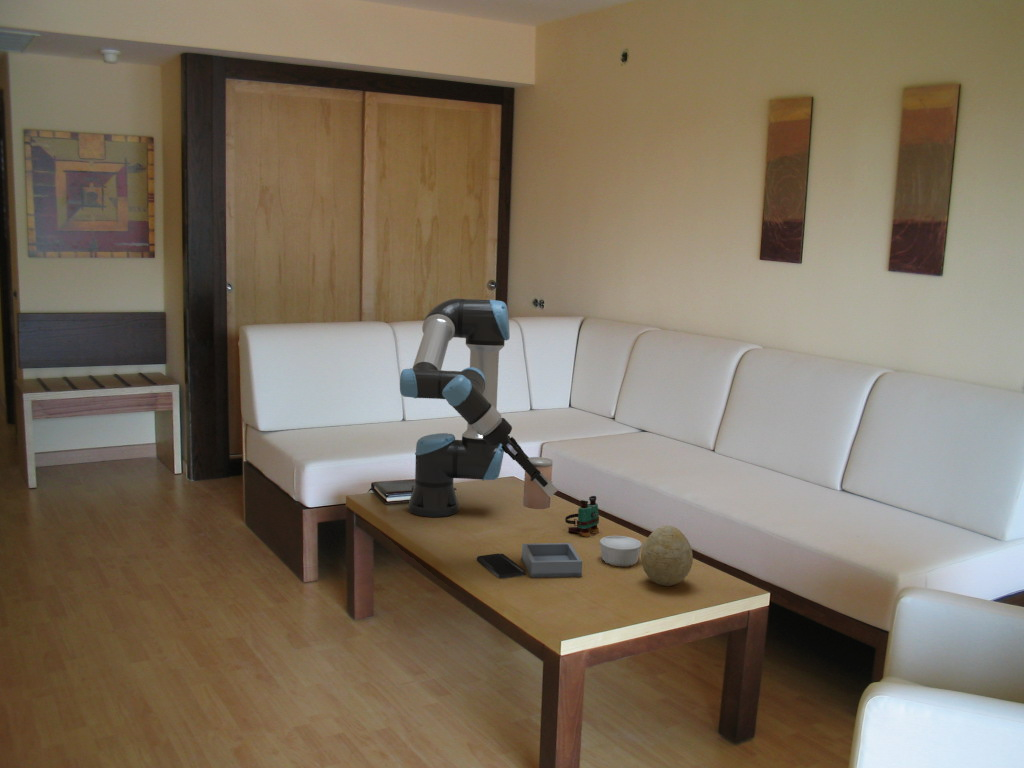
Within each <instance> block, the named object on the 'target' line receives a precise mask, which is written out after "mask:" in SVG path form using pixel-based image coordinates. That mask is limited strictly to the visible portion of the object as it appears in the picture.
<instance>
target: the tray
mask: <svg viewBox="0 0 1024 768" xmlns="http://www.w3.org/2000/svg"><path fill="white" fill-rule="evenodd" d="M521 545H522V546H521V559H522V562H523V564H524V565H525V568H526V570H527V572H528V574H529V576H530V578H531V579H533V578H575V577H576V578H577V577H578V578H579V577H581V578H582V575H583V573H582V572H583V560H582V559H581V557H580V556H579V554H578V552H577V550H576V549H575V548H574V546H573V545H572V543H571V542H553V543H552V542H551V543H550V542H548V543H547V542H543V543H542V542H541V543H536V542H535V543H522V544H521Z"/></svg>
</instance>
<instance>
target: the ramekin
mask: <svg viewBox="0 0 1024 768" xmlns="http://www.w3.org/2000/svg"><path fill="white" fill-rule="evenodd" d="M599 546H600V555H601V560H604V561H605V562H604V561H603V562H604V563H606V564H608V563H609V564H608V565H611V564H612V565H611V566H615V565H617V566H616V567H629V565H631V566H633V564H634V565H635V564H637V562H638V560H639V558H640V557H639V556H640V552H641V550H642V548H643V545H642V542H641V541H640V540H639V539H636V538H634V537H632V536H631V537H630V536H623V535H608V536H604V537H602V538H601V539H600V540H599Z"/></svg>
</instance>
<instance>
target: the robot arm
mask: <svg viewBox="0 0 1024 768" xmlns="http://www.w3.org/2000/svg"><path fill="white" fill-rule="evenodd" d="M423 320H424V321H423V323H422V334H423V335H422V338H421V341H420V344H419V347H418V350H417V353H416V356H415V359H414V363H413V366H412V368H411V367H410V368H405V369H404V368H403V369H402V371H401V372H400V376H399V391H400V394H401V396H402V397H405V398H413V399H434V400H436V399H437V400H439V399H440V400H446V402H447V403H448V405H450V406H451V407H452V408H453V409H454V410H455V411H456V412H457V413H458V415H460V416H461V417H462V418H463V419H464V420H465V421H466V423H467V426H466V427H467V429H466V430H465V431H464V432H463V433H462V434H461V439H456V436H455V435H454V434H453V433H448V432H445V433H444V432H443V433H441V432H440V433H433V434H432V433H431V434H427V435H424V436H422V437H420V438H419V439H417V442H416V444H415V445H416V446H415V452H414V455H415V467H414V468H415V470H414V471H415V473H414V475H415V476H414V487H413V490H412V493H411V495H410V498H409V501H408V511H409V512H410V513H411V514H413V515H417V516H420V517H428V518H439V517H442V518H443V517H448V516H453V515H455V514H457V513H458V512H459V500H458V497H457V493H456V490H455V487H454V479H461V480H463V479H464V480H466V479H467V480H480V481H490V480H491V481H495V480H497V479H498V478H499V477H500V473H501V469H502V465H503V459H504V454H508V456H509V457H510V458H511V459H512V461H515V462H516V463H517V464H518V465H519V466H520V467H521V468H522V469H523V470H524V472H525V471H526V472H527V473H528V474H529V475H530V477H531V479H530V480H531V481H533V480H534V481H535V482H536V483H537V484H538V485H539V486H540V487H541V488H542V489H543V490H544V491H545V492H546V493H547V495H548V496H549V497H550V498H551V497H552V496H554V495H555V494H556V492H558V488H557V487H556V486H555V485H554V484H553V481H552V480H551V482H550V481H549V480H548V479H547V478H546V477H545V476H544V475H543V474H542V473H541V472H540V471H539V470H538V469H537V468H536V467H535V466H534V465H533V464H532V463H531V462H530V460H529V459H528V458H530V457H529V456H528V455H527V454H526V453H525V452H524V450H523V449H522V446H520V444H519V443H518V442H517V440H516V439H515V437H514V436H510V434H511V432H512V430H513V426H512V425H511V424H510V422H508V420H506V418H504V417H502V414H501V413H500V412H499V410H498V409H497V407H498V383H499V382H498V381H499V359H500V358H499V357H500V351H501V350H502V349H503V348H504V347H505V342H506V341H509V340H510V320H509V311H508V306H507V304H506V302H504V301H502V300H496V299H495V300H494V299H474V298H452V299H448V300H445V301H443V302H441V303H439V304H437V305H436V306H434V308H432V309H431V310H430V311H429V312H428V313H427V315H426V316H425V318H424V319H423ZM453 338H460V339H465V345H466V347H467V348H468V349H469V350H470V353H469V354H470V355H469V367H467V368H464V369H462V370H461V371H458V370H443V369H442V367H443V363H444V361H445V357H446V353H447V350H448V345H449V342H450V341H451V340H452V339H453Z"/></svg>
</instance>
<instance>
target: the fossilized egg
mask: <svg viewBox="0 0 1024 768" xmlns="http://www.w3.org/2000/svg"><path fill="white" fill-rule="evenodd" d="M640 552H641V554H640V560H641V561H640V562H641V566H642V569H643V571H644V573H645V574H646V576H647V577H648V578H649V579H650V580H651V581H653V582H654V583H655V584H658V585H661V586H665V587H667V586H674V585H677V584H679V583H681V582H682V581H684V579H685V578H686V577H687V576H688V575H689V574H690V572H691V569H692V566H693V563H694V562H693V560H694V559H693V557H694V554H693V550H692V547H691V543H690V542H689V540H688V538H687V537H686V536H685V534H684V533H683V532H682V531H681V530H680V529H679V528H677V527H675V526H672V525H662V526H659V527H657V528H656V529H654V531H652V532H651V533H650V534H649V536H648V537H647V538H646V539H645V542H644V544H643V545H642V547H641V551H640Z"/></svg>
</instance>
